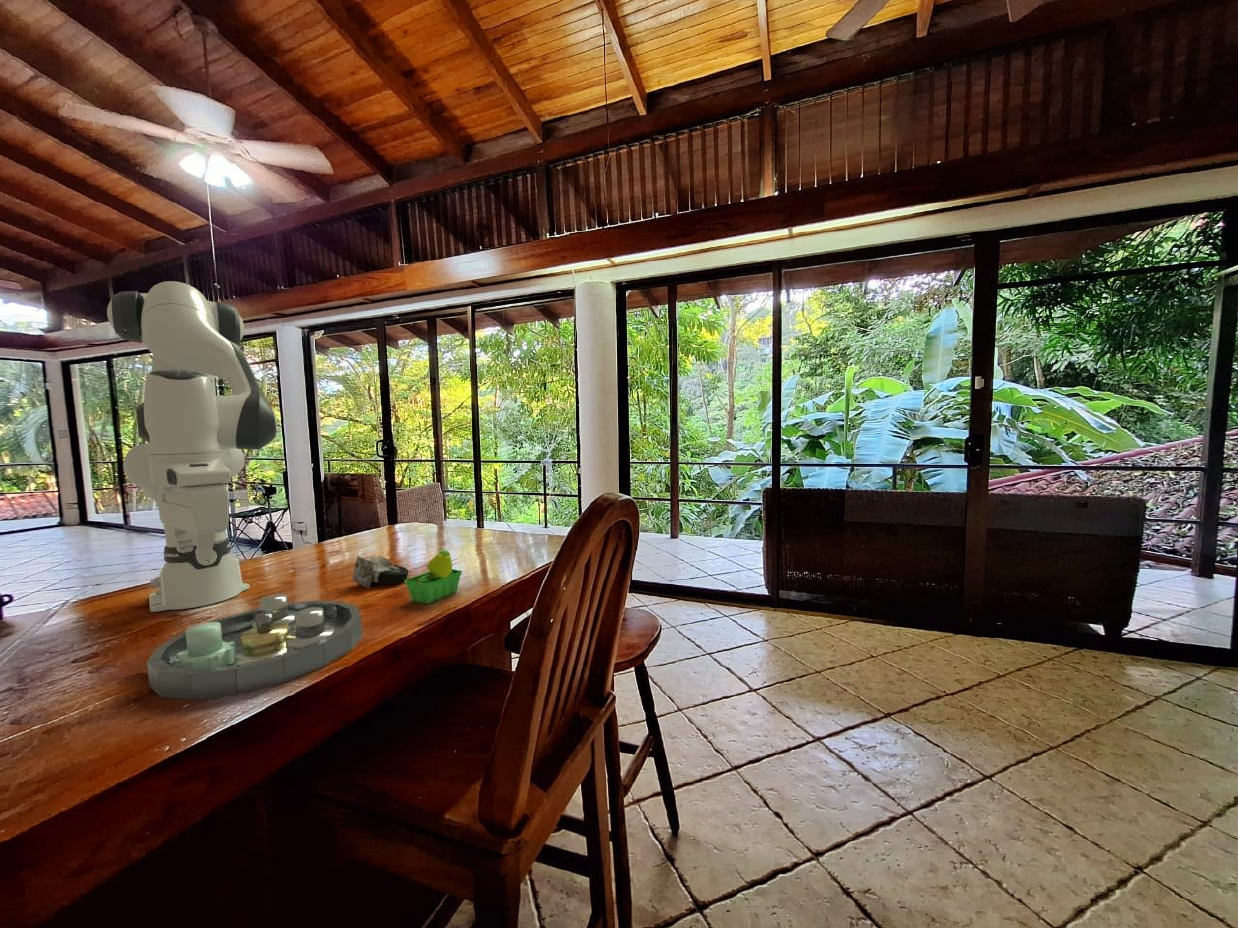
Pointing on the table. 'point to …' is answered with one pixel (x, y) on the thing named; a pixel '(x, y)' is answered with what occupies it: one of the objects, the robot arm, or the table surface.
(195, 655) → the planet gear
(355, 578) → the caster wheel
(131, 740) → the table surface
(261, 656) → the tray
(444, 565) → the fruit basket
